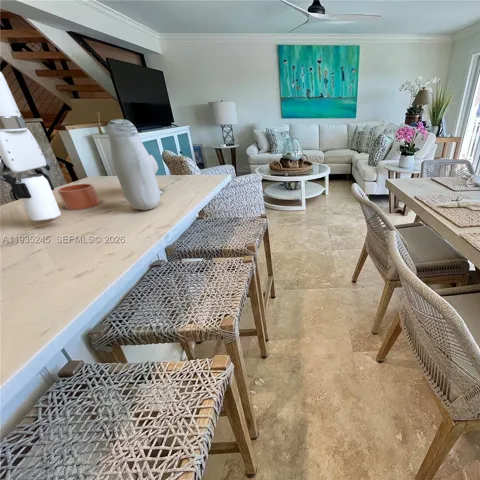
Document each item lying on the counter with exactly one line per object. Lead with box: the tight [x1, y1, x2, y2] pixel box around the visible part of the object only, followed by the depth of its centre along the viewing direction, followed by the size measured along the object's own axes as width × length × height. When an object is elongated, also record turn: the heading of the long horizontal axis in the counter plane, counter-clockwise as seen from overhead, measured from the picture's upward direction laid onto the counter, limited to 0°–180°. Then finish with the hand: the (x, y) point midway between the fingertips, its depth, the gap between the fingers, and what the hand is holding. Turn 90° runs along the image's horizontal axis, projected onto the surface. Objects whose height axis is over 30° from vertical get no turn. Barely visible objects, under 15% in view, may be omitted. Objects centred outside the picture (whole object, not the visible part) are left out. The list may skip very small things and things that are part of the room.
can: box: [20, 173, 62, 222], centre depth 74 cm, size 6×6×12 cm
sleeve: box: [57, 183, 101, 211], centre depth 90 cm, size 9×9×7 cm
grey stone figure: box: [106, 118, 161, 211], centre depth 84 cm, size 10×10×28 cm
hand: (36, 193), depth 74 cm, fingers closed on can, 6 cm apart
